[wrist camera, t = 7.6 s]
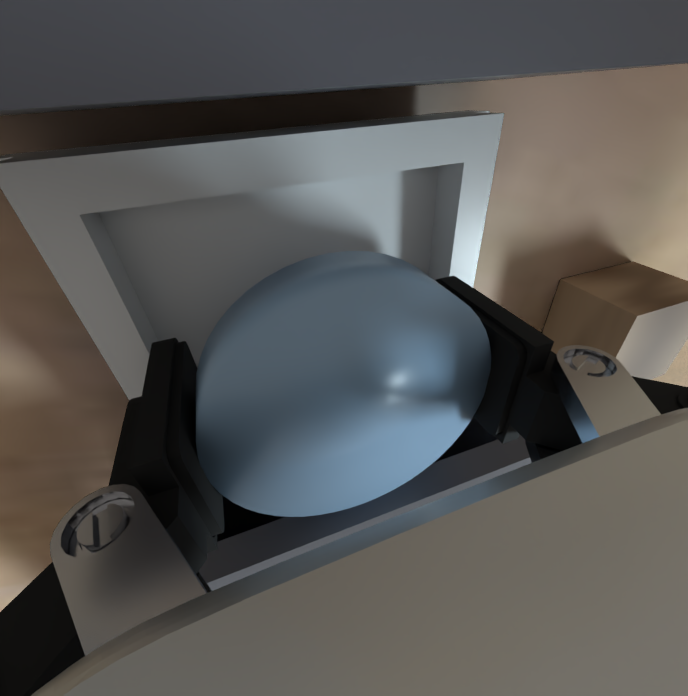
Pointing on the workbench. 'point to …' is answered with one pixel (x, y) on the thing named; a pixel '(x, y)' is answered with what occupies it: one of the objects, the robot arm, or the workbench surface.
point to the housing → (355, 509)
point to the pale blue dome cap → (336, 384)
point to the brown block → (623, 316)
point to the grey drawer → (274, 141)
